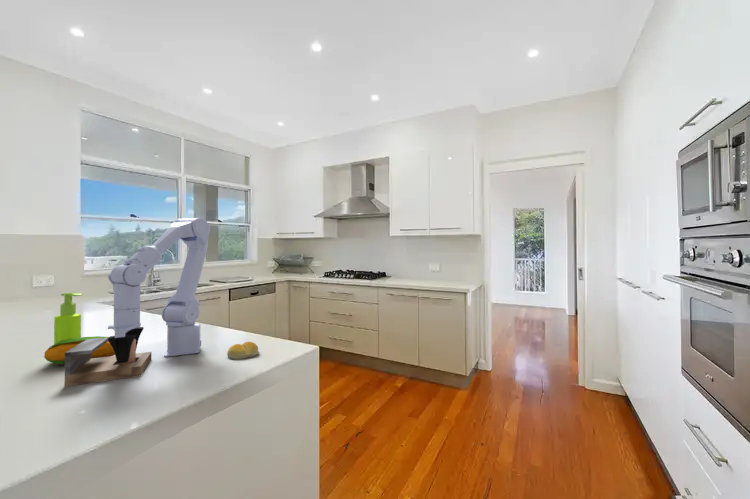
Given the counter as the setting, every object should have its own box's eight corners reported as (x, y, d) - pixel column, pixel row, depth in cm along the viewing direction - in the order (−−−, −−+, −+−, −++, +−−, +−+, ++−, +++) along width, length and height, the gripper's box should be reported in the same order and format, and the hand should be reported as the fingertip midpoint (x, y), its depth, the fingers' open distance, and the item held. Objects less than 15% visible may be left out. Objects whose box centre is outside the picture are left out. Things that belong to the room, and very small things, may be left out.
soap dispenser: (67, 362, 94) (68, 294, 94) (48, 361, 95) (49, 293, 95) (88, 356, 100) (89, 292, 100) (70, 355, 101) (71, 291, 101)
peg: (137, 367, 90) (137, 338, 90) (132, 371, 86) (132, 341, 86) (122, 368, 88) (122, 339, 89) (116, 373, 85) (116, 342, 85)
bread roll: (224, 355, 101) (224, 342, 101) (254, 350, 106) (254, 338, 106) (230, 362, 94) (230, 348, 94) (261, 356, 99) (261, 343, 99)
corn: (51, 336, 94) (134, 329, 103) (52, 361, 94) (135, 352, 103) (38, 344, 87) (128, 336, 96) (39, 371, 88) (128, 361, 96)
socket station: (151, 360, 95) (151, 333, 96) (140, 375, 83) (141, 344, 83) (86, 368, 89) (86, 339, 89) (64, 386, 76) (64, 352, 76)
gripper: (116, 305, 92) (116, 352, 92) (99, 313, 79) (98, 368, 79) (146, 304, 95) (145, 349, 95) (134, 311, 82) (133, 364, 82)
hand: (126, 358), depth 87 cm, fingers open, 7 cm apart
